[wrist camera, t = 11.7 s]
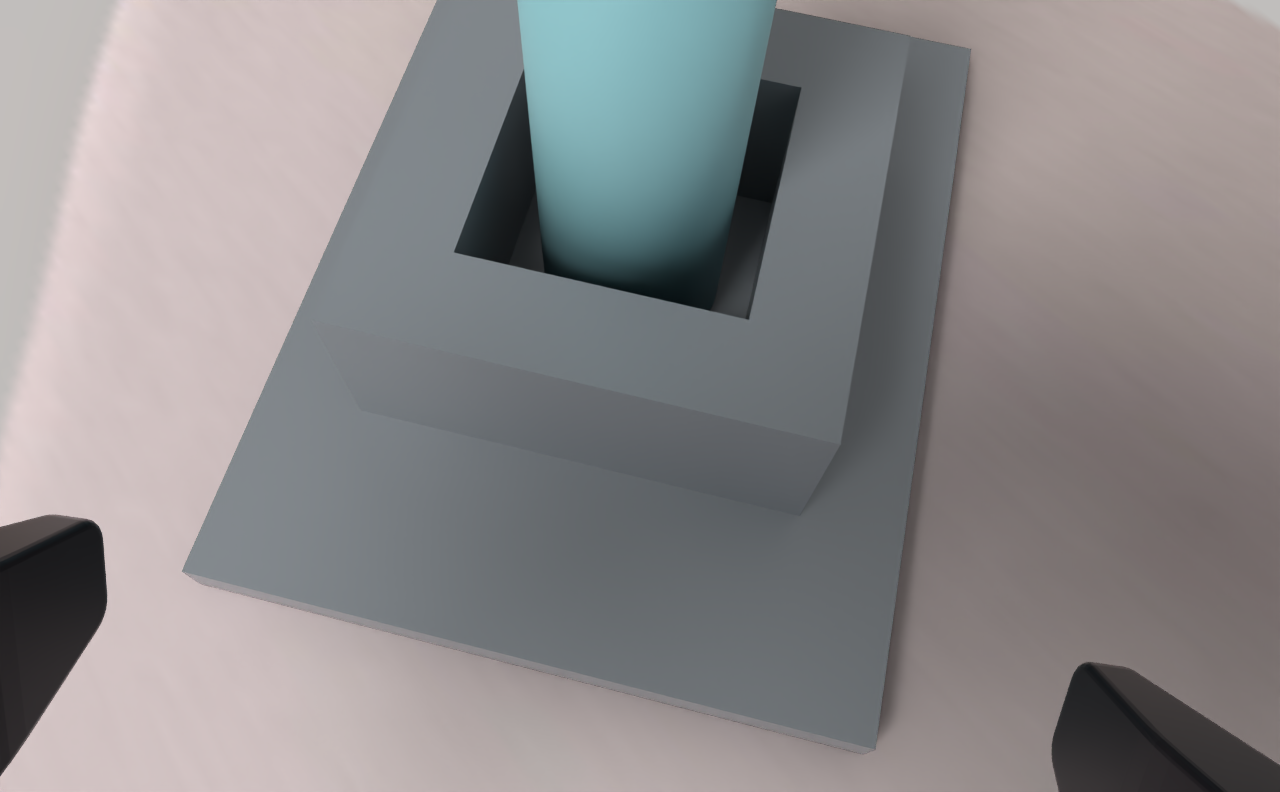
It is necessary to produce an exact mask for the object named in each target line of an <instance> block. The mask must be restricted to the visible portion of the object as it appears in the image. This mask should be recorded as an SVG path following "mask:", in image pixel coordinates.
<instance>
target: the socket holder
mask: <svg viewBox="0 0 1280 792" xmlns="http://www.w3.org/2000/svg"><path fill="white" fill-rule="evenodd" d="M970 53H971V49H968V48H963V47H958V46H953V45H948V44H944V43H939V42H934V41H929V40H924V39H919V38H914V37H911V36H909V35H904V34H899V33H894V32H889V31H884V30H879V29H875V28H870V27H865V26H860V25H855V24H850V23H845V22H841V21H836V20H831V19H826V18H821V17H816V16H811V15H806V14H802V13H797V12H792V11H787V10H782V9H777V8H775V11H774V16H773V21H772V26H771V31H770V35H769V40H768V45H767V50H766V55H765V60H764V65H763V69H762V74H761V79H760V84H759V89H758V94H757V99H756V103H755V108H754V113H753V118H752V123H751V128H750V133H749V137H748V142H747V147H746V152H745V157H744V162H743V167H742V172H741V176H740V181H739V186H738V191H737V196H736V201H735V206H734V210H733V215H732V220H731V225H730V230H729V235H728V240H727V244H726V249H725V254H724V259H723V264H722V269H721V274H720V279H719V283H718V288H717V293H716V296H715V300H714V303H713V305H712V307H711V309H710V311H708V310H704V309H699V308H695V307H691V306H686V305H682V304H677V303H673V302H669V301H664V300H660V299H655V298H651V297H647V296H642V295H638V294H634V293H629V292H625V291H620V290H616V289H612V288H607V287H603V286H599V285H594V284H590V283H585V282H581V281H577V280H572V279H568V278H563V277H559V276H555V275H550V274H546V273H544V263H543V253H542V243H541V233H540V223H539V213H538V203H537V193H536V183H535V173H534V163H533V153H532V143H531V133H530V123H529V113H528V103H527V93H526V83H525V73H524V63H523V53H522V43H521V33H520V23H519V13H518V3H517V0H437V2H436V4H435V6H434V8H433V11H432V13H431V15H430V17H429V19H428V22H427V24H426V26H425V28H424V31H423V33H422V35H421V37H420V40H419V42H418V44H417V46H416V49H415V51H414V53H413V55H412V57H411V60H410V62H409V64H408V66H407V69H406V71H405V73H404V75H403V78H402V80H401V82H400V84H399V87H398V89H397V91H396V93H395V96H394V98H393V100H392V102H391V104H390V107H389V109H388V111H387V113H386V116H385V118H384V120H383V122H382V125H381V127H380V129H379V131H378V134H377V136H376V138H375V140H374V142H373V145H372V147H371V149H370V151H369V154H368V156H367V158H366V160H365V163H364V165H363V167H362V169H361V172H360V174H359V176H358V178H357V181H356V183H355V185H354V187H353V189H352V192H351V194H350V196H349V198H348V201H347V203H346V205H345V207H344V210H343V212H342V214H341V216H340V219H339V221H338V223H337V225H336V227H335V230H334V232H333V234H332V236H331V239H330V241H329V243H328V245H327V248H326V250H325V252H324V254H323V257H322V259H321V261H320V263H319V266H318V268H317V270H316V272H315V274H314V277H313V279H312V281H311V283H310V286H309V288H308V290H307V292H306V295H305V297H304V299H303V301H302V304H301V306H300V308H299V310H298V312H297V315H296V317H295V319H294V321H293V324H292V326H291V328H290V330H289V333H288V335H287V337H286V339H285V342H284V344H283V346H282V348H281V351H280V353H279V355H278V357H277V359H276V362H275V364H274V366H273V368H272V371H271V373H270V375H269V377H268V380H267V382H266V384H265V386H264V389H263V391H262V393H261V395H260V397H259V400H258V402H257V404H256V406H255V409H254V411H253V413H252V415H251V418H250V420H249V422H248V424H247V427H246V429H245V431H244V433H243V436H242V438H241V440H240V442H239V444H238V447H237V449H236V451H235V453H234V456H233V458H232V460H231V462H230V465H229V467H228V469H227V471H226V474H225V476H224V478H223V480H222V482H221V485H220V487H219V489H218V491H217V494H216V496H215V498H214V500H213V503H212V505H211V507H210V509H209V512H208V514H207V516H206V518H205V521H204V523H203V525H202V527H201V529H200V532H199V534H198V536H197V538H196V541H195V543H194V545H193V547H192V550H191V552H190V554H189V556H188V559H187V561H186V563H185V565H184V567H183V570H182V572H183V573H185V574H186V575H188V576H189V577H191V578H192V579H194V580H195V581H197V582H198V583H200V584H203V585H207V586H211V587H215V588H219V589H222V590H226V591H230V592H234V593H238V594H242V595H246V596H250V597H253V598H257V599H261V600H265V601H269V602H273V603H277V604H281V605H285V606H288V607H292V608H296V609H300V610H304V611H308V612H312V613H316V614H320V615H323V616H327V617H331V618H335V619H339V620H343V621H347V622H351V623H355V624H358V625H362V626H366V627H370V628H374V629H378V630H382V631H386V632H390V633H393V634H397V635H401V636H405V637H409V638H413V639H417V640H421V641H425V642H428V643H432V644H436V645H440V646H444V647H448V648H452V649H456V650H459V651H463V652H467V653H471V654H475V655H479V656H483V657H487V658H491V659H494V660H498V661H502V662H506V663H510V664H514V665H518V666H522V667H526V668H529V669H533V670H537V671H541V672H545V673H549V674H553V675H557V676H561V677H564V678H568V679H572V680H576V681H580V682H584V683H588V684H592V685H596V686H599V687H603V688H607V689H611V690H615V691H619V692H623V693H627V694H631V695H634V696H638V697H642V698H646V699H650V700H654V701H658V702H662V703H665V704H669V705H673V706H677V707H681V708H685V709H689V710H693V711H697V712H700V713H704V714H708V715H712V716H716V717H720V718H724V719H728V720H732V721H735V722H739V723H743V724H747V725H751V726H755V727H759V728H763V729H767V730H770V731H774V732H778V733H782V734H786V735H790V736H794V737H798V738H802V739H805V740H809V741H813V742H817V743H821V744H825V745H829V746H833V747H837V748H840V749H844V750H848V751H852V752H856V753H860V754H865V753H868V752H870V751H873V750H875V749H876V741H877V734H878V727H879V719H880V712H881V705H882V697H883V690H884V683H885V675H886V668H887V661H888V653H889V646H890V639H891V631H892V624H893V617H894V610H895V602H896V595H897V588H898V580H899V573H900V566H901V558H902V551H903V544H904V536H905V529H906V522H907V514H908V507H909V500H910V492H911V485H912V478H913V470H914V463H915V456H916V448H917V441H918V434H919V426H920V419H921V412H922V404H923V397H924V390H925V382H926V375H927V368H928V360H929V353H930V346H931V338H932V331H933V324H934V316H935V309H936V302H937V294H938V287H939V280H940V273H941V265H942V258H943V251H944V243H945V236H946V229H947V221H948V214H949V207H950V199H951V192H952V185H953V177H954V170H955V163H956V155H957V148H958V141H959V133H960V126H961V119H962V111H963V104H964V97H965V89H966V82H967V75H968V67H969V60H970Z"/></svg>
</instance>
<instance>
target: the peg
mask: <svg viewBox="0 0 1280 792" xmlns="http://www.w3.org/2000/svg"><path fill="white" fill-rule="evenodd" d="M776 1H777V0H517V3H518V13H519V23H520V33H521V43H522V53H523V63H524V73H525V83H526V93H527V103H528V113H529V123H530V133H531V143H532V153H533V163H534V173H535V183H536V193H537V203H538V213H539V223H540V233H541V243H542V253H543V263H544V273H546V274H550V275H555V276H559V277H563V278H568V279H572V280H577V281H581V282H585V283H590V284H594V285H599V286H603V287H607V288H612V289H616V290H620V291H625V292H629V293H634V294H638V295H642V296H647V297H651V298H655V299H660V300H664V301H669V302H673V303H677V304H682V305H686V306H691V307H695V308H699V309H704V310H708V311H710V309H711V307H712V305H713V303H714V300H715V296H716V293H717V288H718V283H719V279H720V274H721V269H722V264H723V259H724V254H725V249H726V244H727V240H728V235H729V230H730V225H731V220H732V215H733V210H734V206H735V201H736V196H737V191H738V186H739V181H740V176H741V172H742V167H743V162H744V157H745V152H746V147H747V142H748V137H749V133H750V128H751V123H752V118H753V113H754V108H755V103H756V99H757V94H758V89H759V84H760V79H761V74H762V69H763V65H764V60H765V55H766V50H767V45H768V40H769V35H770V31H771V26H772V21H773V16H774V11H775V6H776Z"/></svg>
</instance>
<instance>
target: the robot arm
mask: <svg viewBox="0 0 1280 792" xmlns="http://www.w3.org/2000/svg"><path fill="white" fill-rule="evenodd" d="M106 606H107V586H106V573H105V560H104V546H103V537H102V532H101V530H100V528H99V526H98V525H97V524H96V523H95V522H94V521H92V520H88V519H83V518H76V517H69V516H62V515H45V516H41V517H37V518H33V519H30V520H26V521H22V522H18V523H14V524H10V525H6V526H2V527H0V776H1V774H2V773H3V772H4V771H5V769H6V768H7V767H8V765H9V764H10V763H11V761H12V760H13V758H14V757H15V755H16V754H17V752H18V751H19V750H20V748H21V747H22V745H23V744H24V742H25V741H26V739H27V738H28V736H29V735H30V733H31V732H32V730H33V729H34V727H35V726H36V724H37V722H38V721H39V719H40V718H41V716H42V715H43V713H44V712H45V710H46V709H47V707H48V705H49V704H50V702H51V701H52V699H53V698H54V696H55V695H56V693H57V691H58V690H59V688H60V687H61V685H62V684H63V682H64V681H65V679H66V678H67V676H68V674H69V673H70V671H71V670H72V668H73V667H74V665H75V664H76V662H77V660H78V659H79V657H80V656H81V654H82V653H83V651H84V650H85V648H86V647H87V645H88V643H89V642H90V640H91V639H92V637H93V636H94V634H95V633H96V631H97V629H98V628H99V626H100V624H101V622H102V620H103V617H104V614H105V611H106ZM1052 762H1053V768H1054V772H1055V777H1056V781H1057V785H1058V790H1059V792H1280V765H1279V764H1277V763H1276V762H1274V761H1272V760H1271V759H1269V758H1268V757H1266V756H1265V755H1263V754H1262V753H1260V752H1259V751H1257V750H1255V749H1254V748H1252V747H1251V746H1249V745H1248V744H1246V743H1245V742H1243V741H1242V740H1240V739H1238V738H1237V737H1235V736H1234V735H1232V734H1231V733H1229V732H1228V731H1226V730H1225V729H1223V728H1221V727H1220V726H1218V725H1217V724H1215V723H1214V722H1212V721H1211V720H1209V719H1208V718H1206V717H1204V716H1203V715H1201V714H1200V713H1198V712H1197V711H1195V710H1194V709H1192V708H1191V707H1189V706H1187V705H1186V704H1184V703H1183V702H1181V701H1180V700H1178V699H1177V698H1175V697H1174V696H1172V695H1170V694H1169V693H1167V692H1166V691H1164V690H1163V689H1161V688H1160V687H1158V686H1157V685H1155V684H1153V683H1152V682H1150V681H1149V680H1147V679H1146V678H1144V677H1143V676H1141V675H1140V674H1138V673H1136V672H1135V671H1133V670H1131V669H1129V668H1126V667H1122V666H1114V665H1107V664H1100V663H1093V662H1085V663H1083V664H1082V665H1080V666H1078V668H1077V669H1076V671H1075V672H1074V674H1073V677H1072V679H1071V682H1070V685H1069V688H1068V692H1067V695H1066V698H1065V701H1064V704H1063V707H1062V710H1061V714H1060V717H1059V720H1058V723H1057V726H1056V729H1055V732H1054V736H1053V742H1052Z"/></svg>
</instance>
